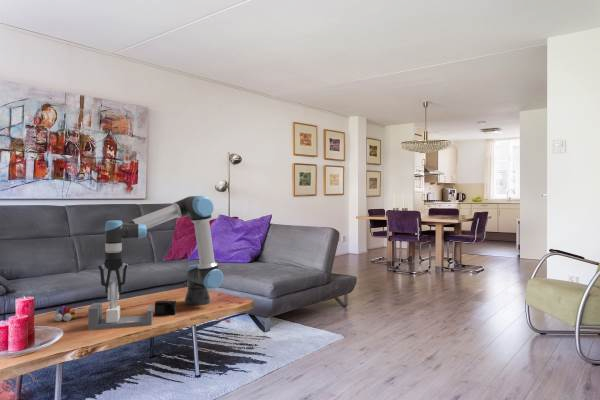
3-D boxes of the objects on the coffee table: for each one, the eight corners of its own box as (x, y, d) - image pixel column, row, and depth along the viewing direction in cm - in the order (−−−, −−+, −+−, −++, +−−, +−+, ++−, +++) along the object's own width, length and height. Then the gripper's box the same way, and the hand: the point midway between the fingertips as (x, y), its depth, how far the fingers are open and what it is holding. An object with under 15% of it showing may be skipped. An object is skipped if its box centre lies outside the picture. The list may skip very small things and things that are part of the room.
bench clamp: (152, 318, 213) (152, 299, 214) (151, 325, 202) (151, 304, 202) (93, 323, 205) (93, 303, 205) (88, 330, 194) (88, 308, 194)
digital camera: (153, 316, 218) (153, 303, 218) (156, 313, 223) (156, 300, 224) (174, 315, 219) (174, 302, 219) (176, 313, 225) (176, 300, 225)
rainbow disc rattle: (72, 321, 208) (72, 307, 208) (51, 322, 207) (51, 308, 207) (78, 317, 217) (78, 303, 217) (58, 318, 215) (58, 304, 215)
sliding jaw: (120, 317, 208) (120, 281, 208) (117, 322, 199) (117, 284, 199) (109, 318, 206) (109, 282, 206) (106, 323, 197) (106, 285, 198)
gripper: (132, 250, 209) (131, 296, 209) (96, 251, 204) (96, 298, 204) (130, 252, 202) (130, 299, 201) (94, 253, 197) (93, 302, 197)
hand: (113, 299), depth 203 cm, fingers closed on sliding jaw, 3 cm apart
